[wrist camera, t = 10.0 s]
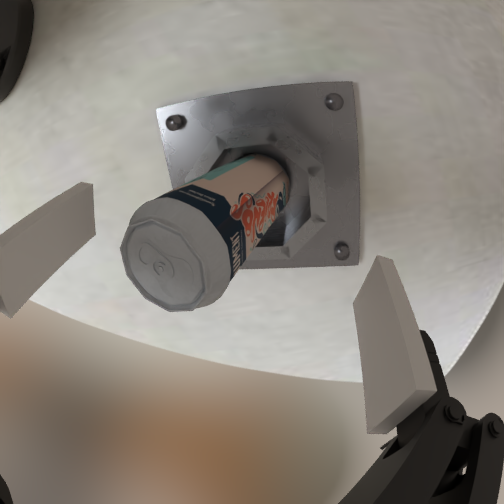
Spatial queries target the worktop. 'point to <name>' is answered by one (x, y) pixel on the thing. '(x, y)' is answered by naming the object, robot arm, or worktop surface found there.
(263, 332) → the worktop surface
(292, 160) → the duct flange
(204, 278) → the beer can
